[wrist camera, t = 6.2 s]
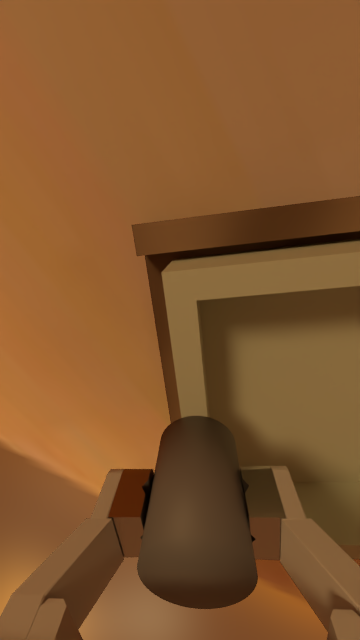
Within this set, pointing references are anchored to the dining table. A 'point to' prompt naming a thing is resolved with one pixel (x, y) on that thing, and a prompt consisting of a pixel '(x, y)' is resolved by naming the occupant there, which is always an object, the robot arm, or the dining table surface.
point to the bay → (233, 249)
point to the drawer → (254, 410)
